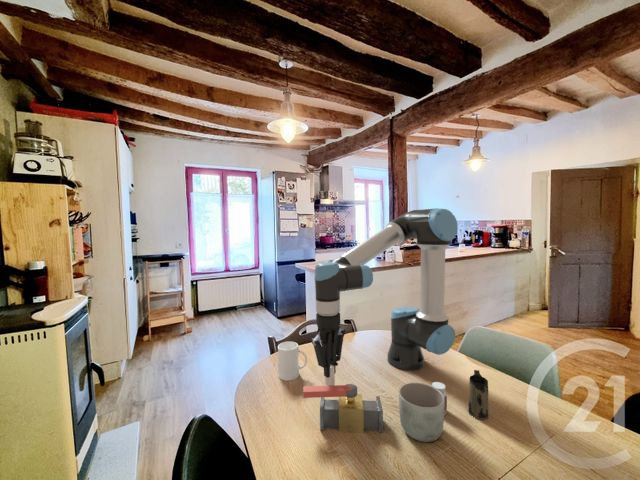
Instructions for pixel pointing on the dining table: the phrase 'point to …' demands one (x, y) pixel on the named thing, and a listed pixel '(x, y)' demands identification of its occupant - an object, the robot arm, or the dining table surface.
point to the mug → (289, 361)
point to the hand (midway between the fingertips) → (330, 385)
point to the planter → (421, 411)
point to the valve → (351, 414)
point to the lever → (330, 391)
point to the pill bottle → (442, 389)
